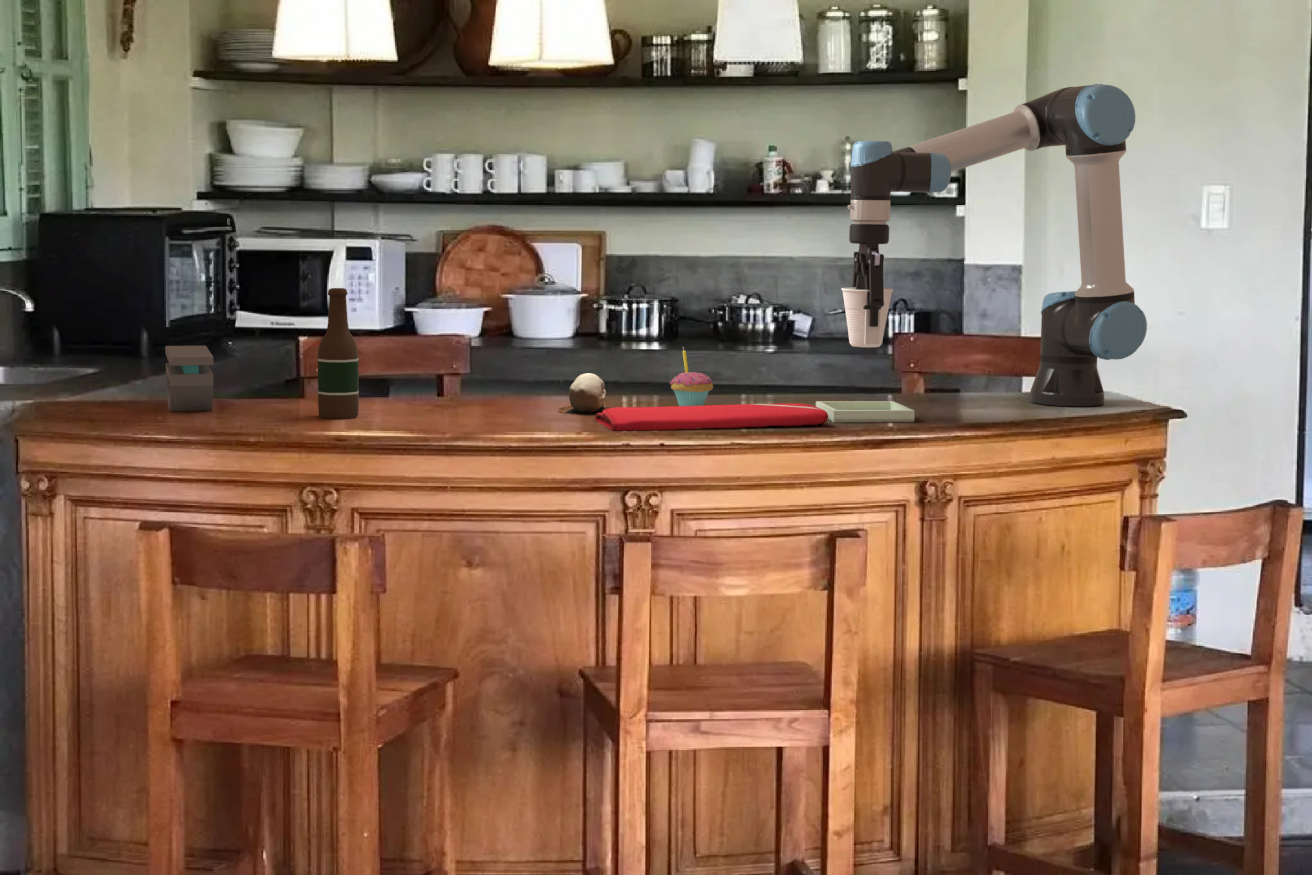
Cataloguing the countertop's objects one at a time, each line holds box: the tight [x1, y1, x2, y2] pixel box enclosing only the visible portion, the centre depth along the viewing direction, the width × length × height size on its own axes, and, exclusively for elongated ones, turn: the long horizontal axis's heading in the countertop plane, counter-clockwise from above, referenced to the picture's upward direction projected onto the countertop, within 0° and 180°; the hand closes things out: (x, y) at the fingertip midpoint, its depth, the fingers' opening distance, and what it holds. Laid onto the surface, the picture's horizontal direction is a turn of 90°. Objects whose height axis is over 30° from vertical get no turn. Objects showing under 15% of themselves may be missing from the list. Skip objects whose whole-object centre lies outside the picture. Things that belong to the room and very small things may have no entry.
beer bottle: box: [317, 287, 360, 420], centre depth 347 cm, size 8×8×24 cm
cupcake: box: [669, 346, 714, 406], centre depth 371 cm, size 9×8×12 cm
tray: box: [815, 400, 915, 423], centre depth 359 cm, size 16×16×2 cm
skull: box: [557, 372, 618, 416], centre depth 362 cm, size 12×10×10 cm
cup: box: [840, 286, 894, 348], centre depth 357 cm, size 10×10×11 cm
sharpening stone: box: [164, 345, 214, 412], centre depth 360 cm, size 25×8×11 cm, turn 17°
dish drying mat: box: [594, 402, 829, 432], centre depth 346 cm, size 16×41×4 cm, turn 104°
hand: (865, 341), depth 357 cm, fingers closed on cup, 8 cm apart
